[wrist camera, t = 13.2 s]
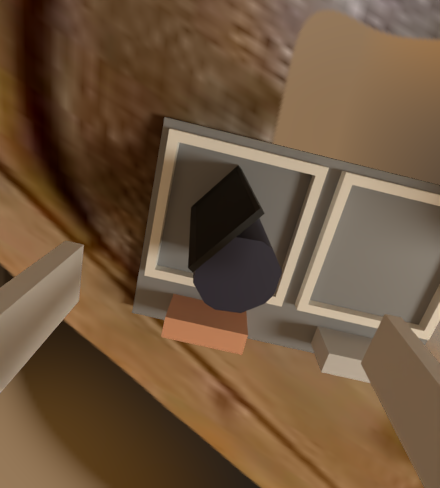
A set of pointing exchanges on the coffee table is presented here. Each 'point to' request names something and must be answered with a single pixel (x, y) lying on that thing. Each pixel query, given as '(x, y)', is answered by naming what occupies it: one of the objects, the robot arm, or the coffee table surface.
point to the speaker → (231, 247)
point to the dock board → (295, 248)
